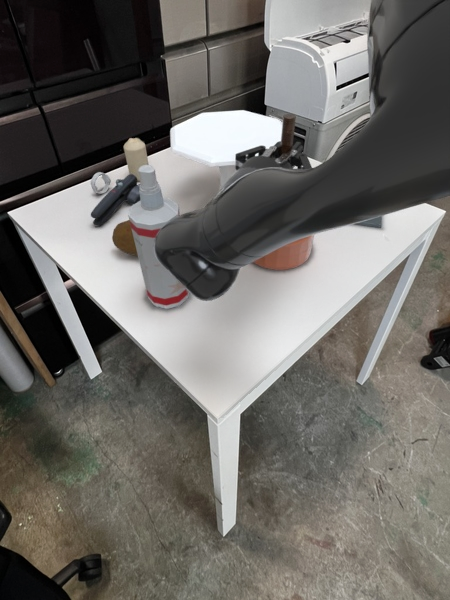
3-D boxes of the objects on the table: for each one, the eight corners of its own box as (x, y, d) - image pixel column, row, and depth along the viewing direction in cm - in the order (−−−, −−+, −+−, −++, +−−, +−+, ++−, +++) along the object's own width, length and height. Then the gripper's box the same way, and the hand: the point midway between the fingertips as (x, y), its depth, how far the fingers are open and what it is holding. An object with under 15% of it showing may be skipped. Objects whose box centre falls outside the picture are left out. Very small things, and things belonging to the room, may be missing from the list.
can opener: (130, 188, 97) (125, 168, 93) (151, 194, 95) (148, 174, 91) (83, 223, 87) (75, 202, 83) (106, 231, 84) (100, 210, 80)
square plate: (380, 204, 90) (381, 201, 89) (380, 228, 83) (381, 225, 83) (338, 198, 92) (339, 196, 91) (335, 221, 85) (335, 218, 85)
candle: (136, 183, 99) (128, 146, 92) (126, 175, 102) (118, 139, 95) (154, 176, 101) (148, 140, 94) (144, 169, 104) (137, 133, 97)
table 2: (195, 167, 105) (190, 103, 93) (294, 178, 99) (302, 112, 87) (156, 222, 86) (143, 152, 74) (275, 240, 81) (282, 168, 69)
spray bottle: (151, 279, 73) (124, 156, 55) (189, 278, 73) (174, 155, 55) (146, 309, 67) (114, 183, 49) (187, 308, 67) (170, 181, 49)
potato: (116, 241, 82) (107, 211, 76) (172, 235, 83) (168, 204, 77) (115, 265, 76) (105, 234, 71) (175, 258, 77) (171, 227, 72)
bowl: (314, 233, 82) (319, 210, 78) (305, 275, 73) (310, 251, 69) (252, 224, 85) (253, 200, 81) (236, 263, 76) (236, 239, 72)
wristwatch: (113, 188, 97) (108, 171, 94) (99, 197, 94) (94, 179, 91) (105, 186, 98) (100, 168, 95) (91, 195, 95) (86, 176, 92)
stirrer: (293, 191, 70) (303, 112, 60) (290, 202, 67) (300, 122, 57) (272, 188, 71) (279, 110, 60) (268, 199, 68) (274, 119, 58)
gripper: (300, 178, 49) (334, 130, 60) (209, 159, 54) (256, 117, 64) (294, 226, 55) (326, 174, 65) (211, 204, 59) (254, 159, 70)
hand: (291, 146), depth 65 cm, fingers closed on stirrer, 2 cm apart
